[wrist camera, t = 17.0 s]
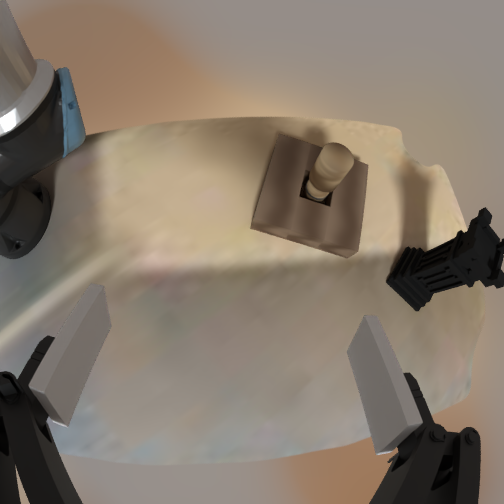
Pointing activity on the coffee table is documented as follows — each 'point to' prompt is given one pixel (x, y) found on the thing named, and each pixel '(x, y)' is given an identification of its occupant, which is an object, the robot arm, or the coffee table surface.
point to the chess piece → (451, 264)
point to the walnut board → (306, 211)
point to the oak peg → (328, 171)
